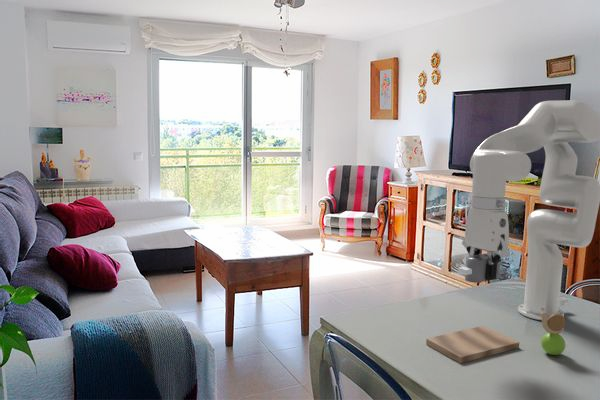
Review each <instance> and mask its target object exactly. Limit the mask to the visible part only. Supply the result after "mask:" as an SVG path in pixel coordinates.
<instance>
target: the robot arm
mask: <svg viewBox="0 0 600 400" xmlns="http://www.w3.org/2000/svg"><path fill="white" fill-rule="evenodd" d="M599 139H600V113H599V112H598V111H597V109H594V108H593V107H592V106H591V105H590V104H588V103H587V102H585V101H582V100H577V99H570V100H564V99H563V100H560V99H559V100H545V101H544V100H543V101H540V102H538V103H537V104H535V105H534V106H533V107H532V108H531V109H530V111H529V112H528V113H527V114H526V115H525V116H524V117H523V119H521V121H520V122H519V123H518V124H517V125H515V126H511V127H509V128H507V129H505V130H502V131H500V132H498V133H495V134H493V135H491V136H489V137H487V138H486V139H484V141H483V142H481V144H479V146H478V147H477V148H476V149H475V150H474V152H473V154H472V155H471V157H470V161H469V169H470V171H471V174H472V185H471V186H472V188H471V201H470V202H471V204H470V205H471V206H470V207H469V208H468V209H469V210H468V213H467V217H466V221H465V222H466V223H465V232H464V233H465V234H464V238H463V240H462V242H461V245H462V246H463V247H464V248H465V250H466V252H467V253H468V256H473V255H479V254H482V251H484V252H486V253H487V256H488V264H486V275H485V280H489V281H493V279H494V280H497V279H496V274H497V264H499V263H500V264H501V262H500V261H503V260H504V259H506V258H508V257H510V255H511V254H510V251H509V246H510V245H509V244H510V229H509V228H510V227H509V226H510V225H509V224H510V223H509V217H508V216H509V215H508V211H507V210H505V208H506V207H507V206H508V202H507V201H505V200H506V188H507V187H506V186H507V182H520V181H523V180H525V179H526V178H527V177H528V176H529V175H530V173H531V169H532V160H531V158H530V157H529V156H528V155H527V154H529V153H534V152H537V151H538V150H539V151H540V149H542V148H543V149H544V152H545V160H544V166H543V170H542V176H541V181H540V184H539V185H540V186H539V191H538V193H539V194H538V196H539V200H540V201H541V203H543V204H544V205H548V206H552V207H558V208H560V207H561V208H567V209H575V210H576V212H571V211H570V212H568V211H563V210H554V209H546V208H545V209H544V208H541V209H539V208H538V209H535V210H534V211H531V213H529V215H528V216H527V219H526V232H527V242H528V243H527V244H528V245H527V261H526V274H525V284H524V285H525V286H524V287H525V288H524V298H523V303H521V304H519V305H518V306H517V311H518V313H520V315H522V316H524V317H527V318H530V319H533V320H537V321H542V317H541V313H542V312H543V310H542V309H541V307H543V308H544V309H545V310H544V312H546V313H547V319H548V318H549V317H550V316H551V315H553V314H560V315H562V316H563V317H564V318H565V313H564V311H563V310H562V309H561V307H562V306H565V305H566V306H567V305H568V304H569V301H568V299H567V298H561V297H560V296H561V288H562V276H563V268H564V267H563V266H564V265H563V264H564V257H563V254H562V251H561V250H560V248H559V246H560V245H562V246H567V247H573V248H581V249H582V248H586V247H588V246H589V245H590V243H591V242H592V240H593V238H594V237H593V236H594V233H595V229H596V223H597V217H598V213H599V207H600V181H598V179H596V178H595V177H593V176H588V175H587V176H586V175H577V173H576V172H577V168H578V155H577V154H576V152H575V149H573V147H572V146H571V145H570V144H569V143H586V144H587V143H589V144H591V143H595V142H596V141H598V140H599ZM558 245H559V246H558ZM493 254H494V257H493Z"/></svg>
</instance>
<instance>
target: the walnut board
mask: <svg viewBox="0 0 600 400" xmlns="http://www.w3.org/2000/svg"><path fill="white" fill-rule="evenodd" d="M425 341H426V342H425V344H426V345H427V346H429V347H430V348H432V349H434V350H435V351H438V352H440V353H441V354H442V355H445V356H446V357H449V358H450V359H451V360H453V361H455V362H457V363H459V364H463V363H467V362H471V361H474V360H478V359H482V358H485V357H489V356H493V355H496V354H500V353H504V352H509V351H511V350H516V349H519V348H520V341H517V340H516V339H514V338H511V337H509V336H507V335H505V334H502V333H500V332H498V331H496V330H493V329H492V328H489V327H487V326H484V325H481V326H475V327H471V328H468V329H462V330H458V331H453V332H450V333H445V334H441V335H436V336H432V337H427V338H426V340H425Z"/></svg>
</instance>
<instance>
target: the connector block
mask: <svg viewBox="0 0 600 400" xmlns="http://www.w3.org/2000/svg"><path fill="white" fill-rule="evenodd" d="M493 257H494V254H493ZM501 261H502V260H501ZM501 261H500V263H499V264H497V274H496V279H493V280H498V279H500V275H501V274H500V272H501ZM486 264H488V256H487V252H486V253H481V254H479V255H473V256H469V255H468V256H466V257H465V266H461V267H459V266H458V270H457V272H458V273H459V274H461V275H464V280H465V281H466V282H470V283H475V284H476V283H485V282H488V281H490V280H485V275H486ZM493 280H492V281H493Z"/></svg>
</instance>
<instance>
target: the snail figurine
mask: <svg viewBox="0 0 600 400" xmlns="http://www.w3.org/2000/svg"><path fill="white" fill-rule="evenodd" d="M541 309H542V310H543V312H542V313H541V317H542V320H541V322H542V327H543V329H544V331H545V332H546V333H545V334H544V335H543V336H542V337H541V340H540V345H541V348H542V349H543V351H544V352H545V353H546V354H549V355H551V356H558V355H560V354H562V353H564V351H565V350H566V341H565V339H564V337H563V336H562V335H561V333H563V332H564V331H565V326H566V317H565V316H564V317H563V316H562V315H560V314H553V315H551V316H550V317H549V318H548V319H547V313H546V312H544V310H545V309H544V308H543V307H541Z"/></svg>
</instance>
